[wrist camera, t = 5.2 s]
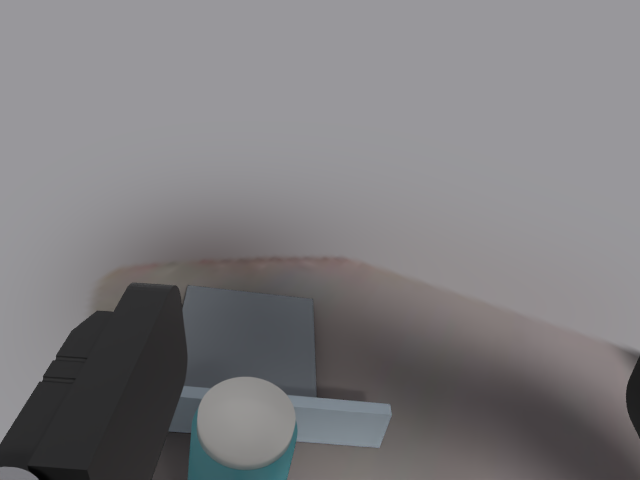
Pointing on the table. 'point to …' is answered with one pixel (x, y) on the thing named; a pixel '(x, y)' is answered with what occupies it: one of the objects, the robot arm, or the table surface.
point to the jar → (243, 432)
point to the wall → (310, 418)
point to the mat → (249, 339)
